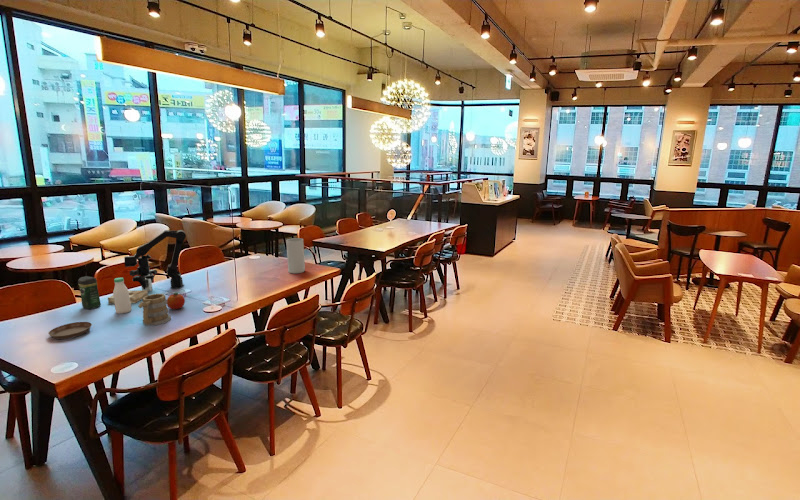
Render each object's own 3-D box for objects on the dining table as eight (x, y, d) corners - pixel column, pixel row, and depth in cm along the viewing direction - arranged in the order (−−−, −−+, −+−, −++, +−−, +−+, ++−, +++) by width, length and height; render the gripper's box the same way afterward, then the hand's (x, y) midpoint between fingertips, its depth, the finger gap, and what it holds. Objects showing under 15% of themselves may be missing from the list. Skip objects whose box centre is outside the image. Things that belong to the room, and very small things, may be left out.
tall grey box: (152, 290, 287) (150, 278, 285) (149, 291, 284) (148, 279, 282) (144, 290, 287) (143, 278, 285) (142, 291, 284) (140, 279, 282)
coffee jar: (103, 306, 257) (98, 276, 253) (89, 310, 250) (83, 279, 246) (94, 303, 262) (89, 274, 257) (80, 307, 255) (74, 277, 251)
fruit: (182, 304, 260) (180, 288, 257) (188, 308, 253) (186, 292, 251) (165, 308, 253) (163, 292, 251) (170, 312, 247) (168, 295, 244)
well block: (147, 295, 275) (147, 290, 275) (134, 303, 262) (134, 297, 261) (123, 295, 275) (122, 290, 275) (108, 303, 262) (107, 297, 261)
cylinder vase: (302, 273, 323) (301, 241, 318) (286, 273, 323) (284, 241, 318) (306, 269, 335) (304, 238, 330) (290, 269, 336) (288, 238, 330)
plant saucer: (44, 343, 207) (42, 338, 207) (55, 330, 223) (54, 324, 222) (87, 337, 214) (86, 331, 213) (96, 324, 230) (95, 319, 229)
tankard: (152, 316, 241) (149, 291, 237) (174, 316, 240) (171, 291, 237) (129, 331, 221) (125, 303, 218) (153, 331, 221) (149, 303, 217)
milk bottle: (134, 310, 250) (129, 277, 246) (122, 314, 243) (117, 280, 239) (125, 308, 253) (119, 275, 248) (112, 313, 246) (107, 279, 241)
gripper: (139, 261, 290) (143, 283, 294) (122, 269, 272) (126, 292, 276) (156, 261, 290) (159, 283, 294) (140, 268, 272) (143, 292, 276)
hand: (147, 287), depth 285 cm, fingers open, 6 cm apart
